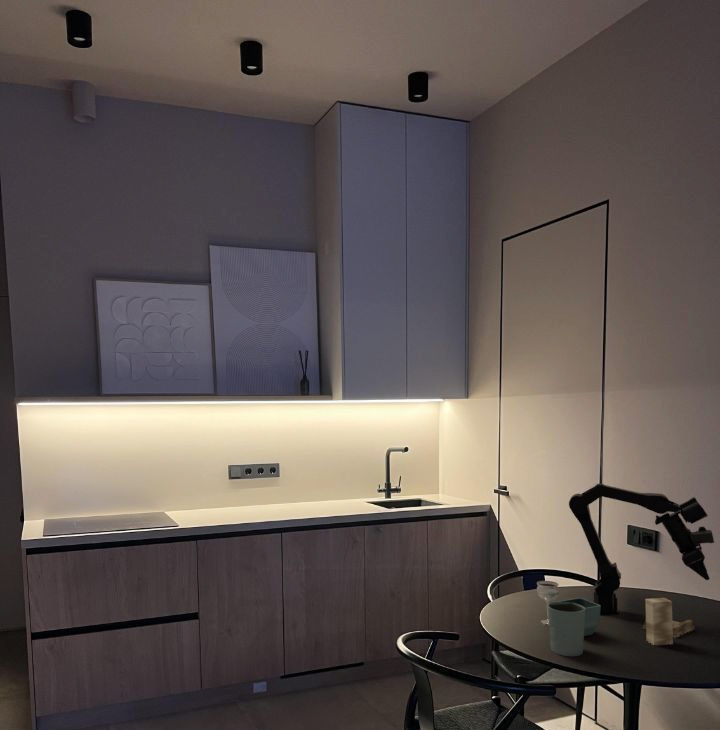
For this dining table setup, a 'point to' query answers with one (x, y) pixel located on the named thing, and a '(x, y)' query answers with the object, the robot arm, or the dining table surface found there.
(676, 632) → the wooden tray
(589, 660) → the dining table surface
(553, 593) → the wineglass
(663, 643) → the wooden block
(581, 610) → the green cup
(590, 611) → the flower pot
